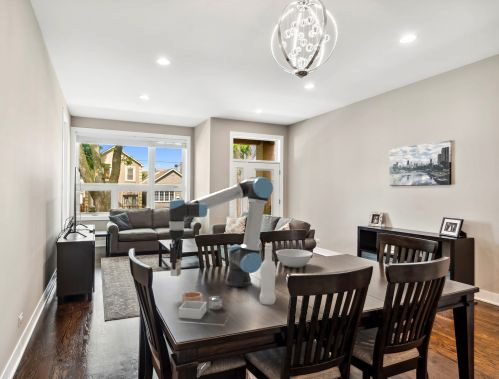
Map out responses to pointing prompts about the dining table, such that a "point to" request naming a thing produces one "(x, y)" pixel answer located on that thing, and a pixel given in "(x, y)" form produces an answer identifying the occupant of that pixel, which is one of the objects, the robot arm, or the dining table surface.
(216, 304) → the tin
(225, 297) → the dining table surface
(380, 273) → the dining table surface
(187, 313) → the tray white
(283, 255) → the bowl
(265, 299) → the bottle
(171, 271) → the block
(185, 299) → the terracotta cup
